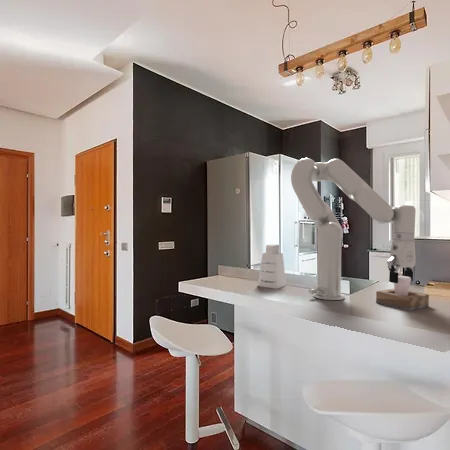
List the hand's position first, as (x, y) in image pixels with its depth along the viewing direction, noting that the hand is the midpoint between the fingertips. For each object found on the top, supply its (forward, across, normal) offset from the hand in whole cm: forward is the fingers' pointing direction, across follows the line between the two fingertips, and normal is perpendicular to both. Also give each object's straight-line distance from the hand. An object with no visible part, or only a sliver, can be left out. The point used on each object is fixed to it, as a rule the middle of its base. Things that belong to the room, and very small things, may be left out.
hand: (401, 281), depth 126 cm
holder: (+9, 0, 0) cm, 9 cm away
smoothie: (+8, 0, 0) cm, 8 cm away
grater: (+10, -22, +52) cm, 57 cm away
